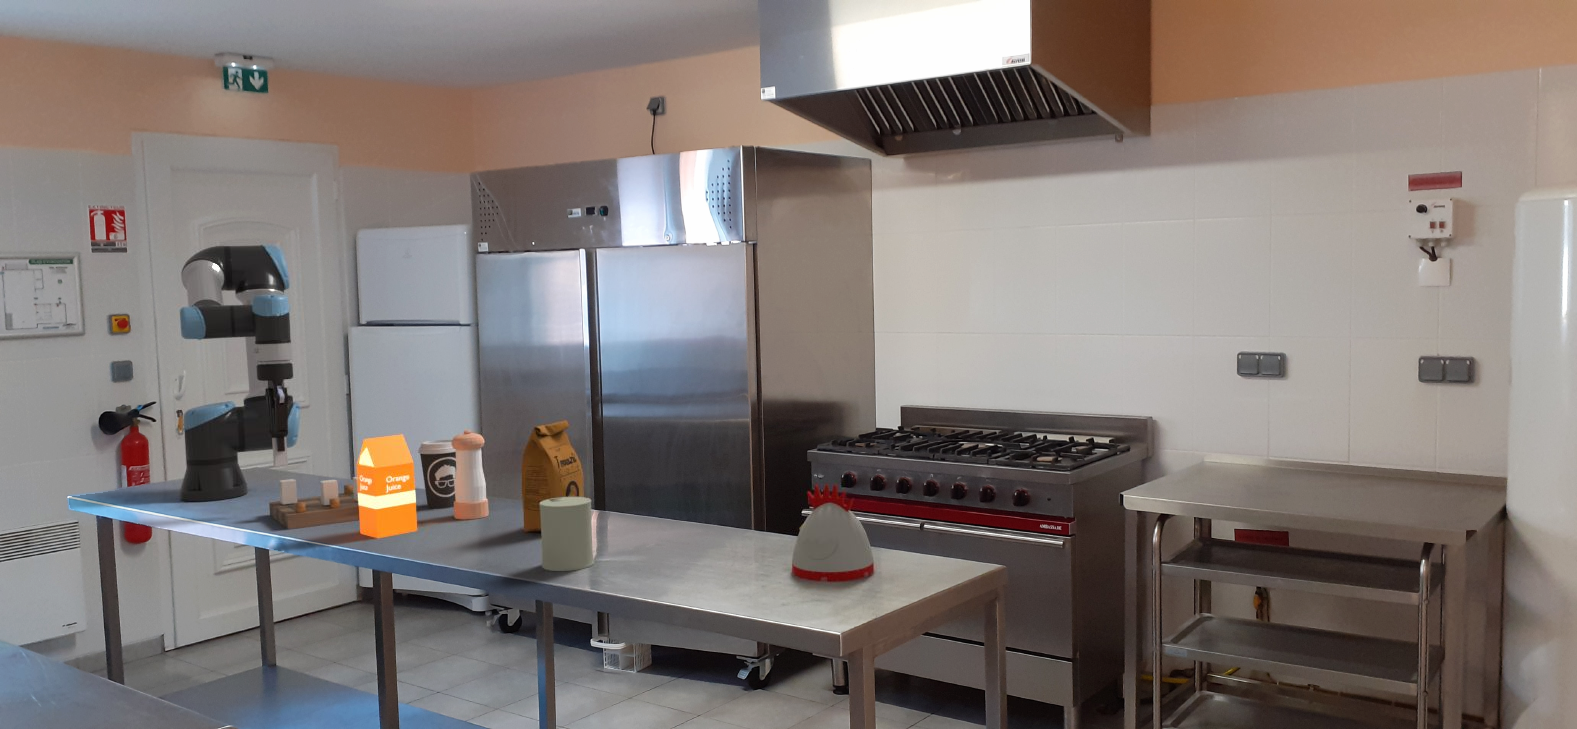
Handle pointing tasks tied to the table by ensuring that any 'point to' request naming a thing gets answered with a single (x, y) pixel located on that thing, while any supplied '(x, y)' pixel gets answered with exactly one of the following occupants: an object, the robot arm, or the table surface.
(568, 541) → the can
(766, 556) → the table surface
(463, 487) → the pepper shaker
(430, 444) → the coffee cup
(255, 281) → the robot arm
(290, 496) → the switch
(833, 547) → the kitchen timer
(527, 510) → the coffee package
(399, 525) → the orange juice
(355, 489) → the switch
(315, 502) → the switch unit
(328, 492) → the switch
